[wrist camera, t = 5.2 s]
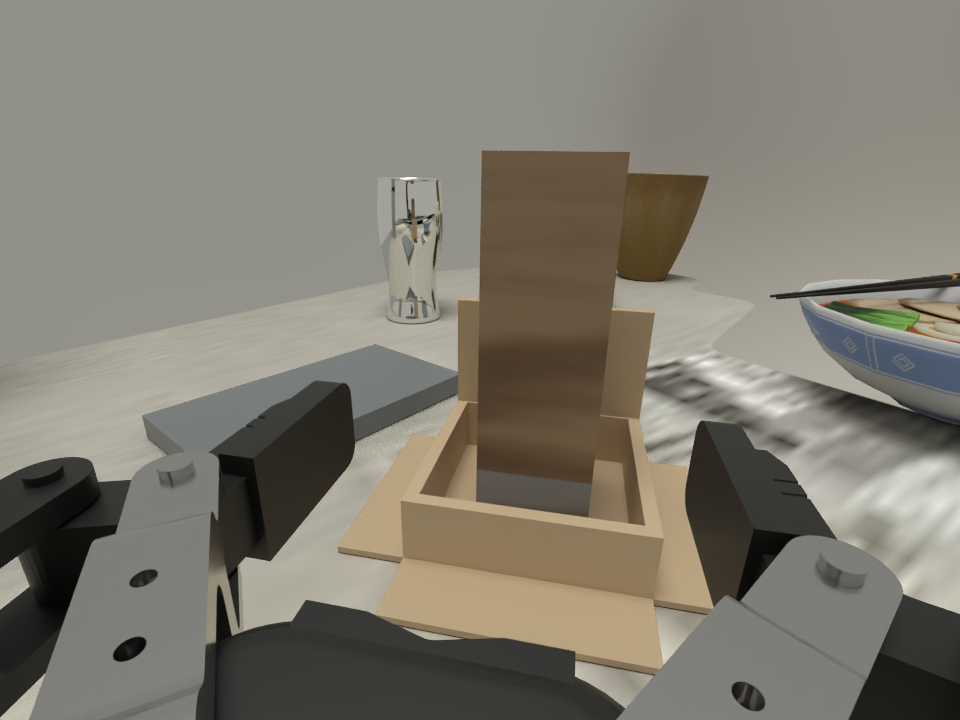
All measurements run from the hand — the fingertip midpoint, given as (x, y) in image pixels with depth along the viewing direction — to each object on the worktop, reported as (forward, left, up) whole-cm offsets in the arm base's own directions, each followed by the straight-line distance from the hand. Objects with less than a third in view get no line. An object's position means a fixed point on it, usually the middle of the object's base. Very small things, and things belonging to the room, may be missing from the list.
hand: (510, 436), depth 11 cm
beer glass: (+30, +35, -10) cm, 47 cm away
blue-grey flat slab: (+9, +22, -10) cm, 26 cm away
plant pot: (+72, +25, -10) cm, 77 cm away
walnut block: (+10, +5, -10) cm, 15 cm away
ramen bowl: (+40, -12, -10) cm, 43 cm away
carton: (+8, +4, -10) cm, 14 cm away
